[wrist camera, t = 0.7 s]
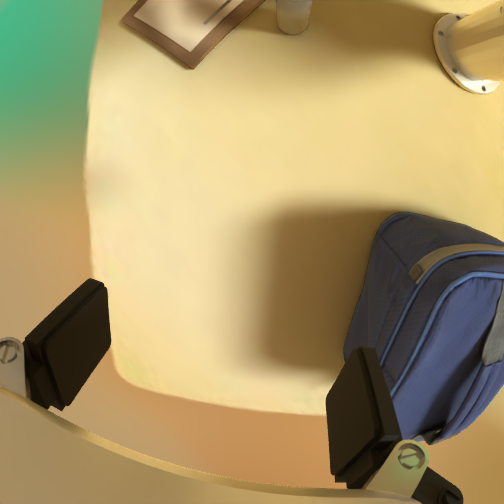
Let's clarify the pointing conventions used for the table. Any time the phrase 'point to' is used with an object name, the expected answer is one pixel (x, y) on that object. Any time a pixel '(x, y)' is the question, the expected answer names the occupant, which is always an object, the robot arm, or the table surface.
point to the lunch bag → (434, 322)
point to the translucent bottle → (293, 15)
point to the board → (188, 24)
